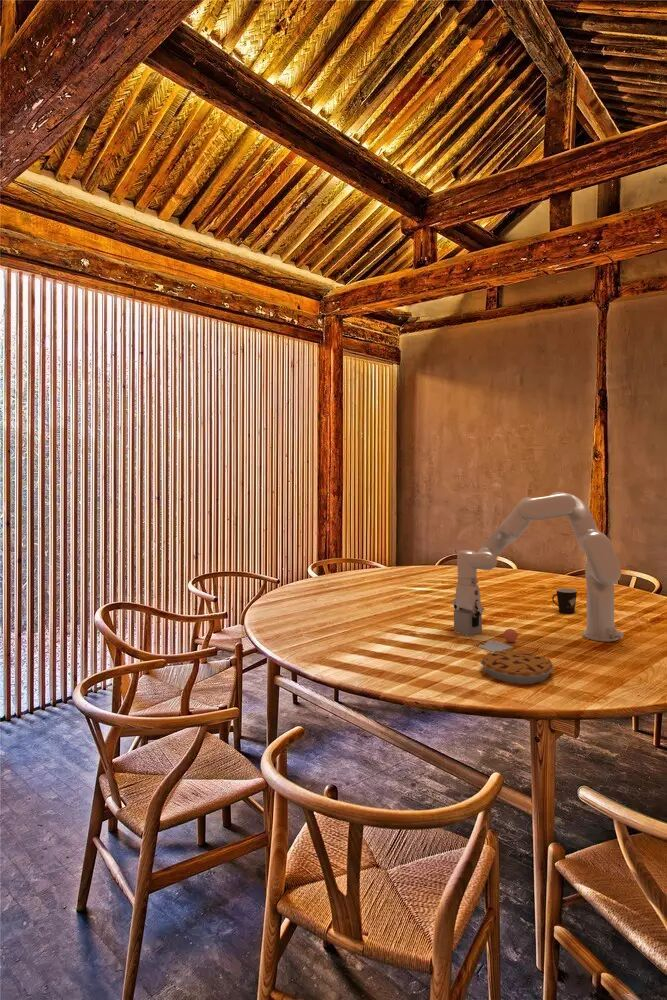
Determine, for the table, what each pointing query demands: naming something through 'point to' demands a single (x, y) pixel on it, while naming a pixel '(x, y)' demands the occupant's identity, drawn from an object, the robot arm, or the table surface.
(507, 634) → the ball
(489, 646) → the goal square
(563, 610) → the coffee mug
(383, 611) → the table surface
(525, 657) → the pie
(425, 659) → the table surface
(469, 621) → the grey block
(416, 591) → the table surface
